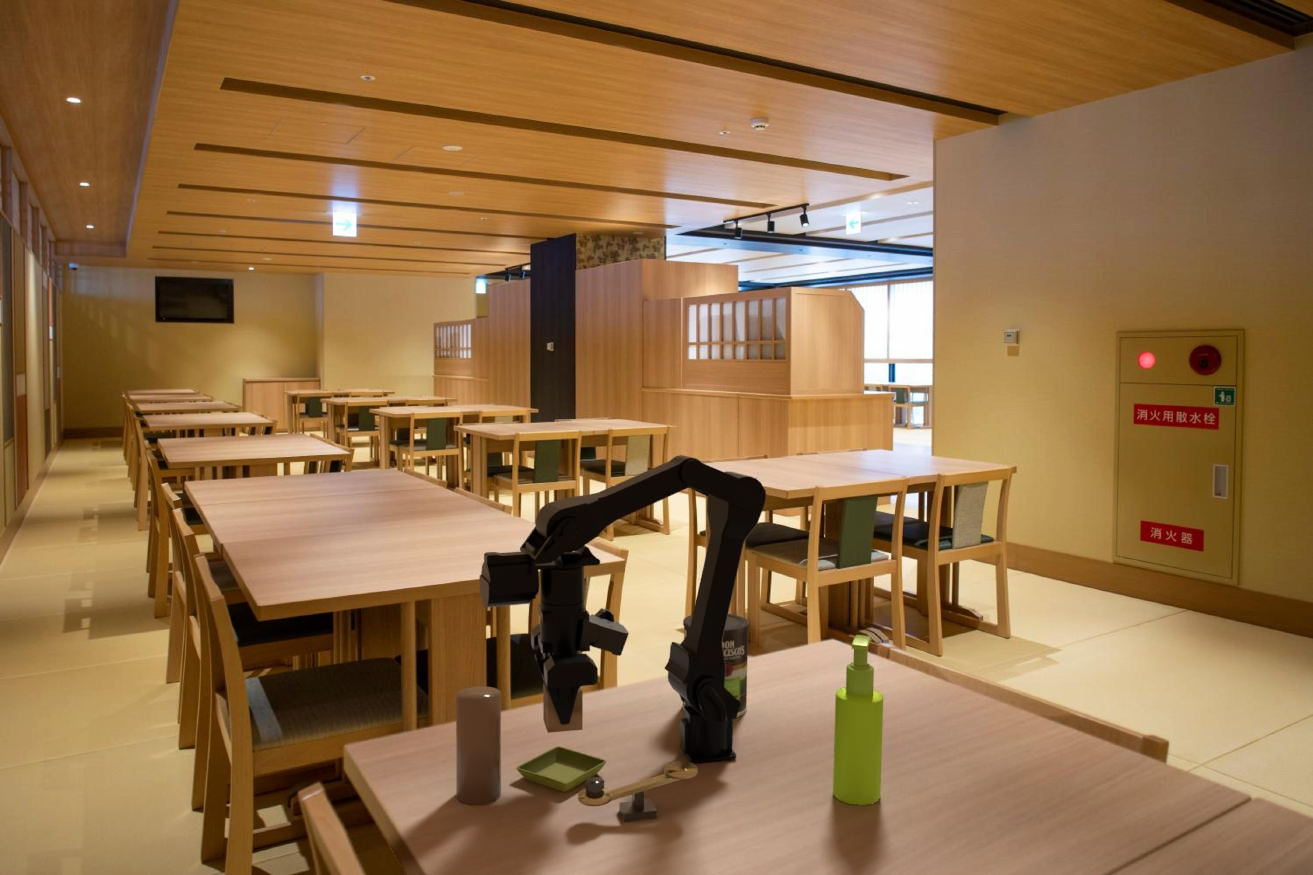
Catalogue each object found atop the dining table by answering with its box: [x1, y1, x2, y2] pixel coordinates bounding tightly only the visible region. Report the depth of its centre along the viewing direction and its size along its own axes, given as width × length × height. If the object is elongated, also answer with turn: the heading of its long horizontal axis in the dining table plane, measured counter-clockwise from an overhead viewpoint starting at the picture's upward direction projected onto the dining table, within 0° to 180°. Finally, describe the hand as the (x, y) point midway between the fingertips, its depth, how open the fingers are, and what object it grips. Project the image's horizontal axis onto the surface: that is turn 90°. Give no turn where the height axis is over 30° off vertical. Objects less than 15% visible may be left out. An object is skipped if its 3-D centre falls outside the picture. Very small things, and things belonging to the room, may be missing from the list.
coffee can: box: [681, 613, 750, 719], centre depth 149 cm, size 10×10×14 cm
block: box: [542, 682, 584, 734], centre depth 124 cm, size 4×4×5 cm
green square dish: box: [515, 745, 607, 793], centre depth 125 cm, size 9×9×2 cm
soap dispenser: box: [832, 634, 884, 806], centre depth 120 cm, size 6×7×20 cm
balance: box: [577, 760, 698, 823], centre depth 115 cm, size 15×4×5 cm, turn 104°
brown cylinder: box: [455, 685, 502, 806], centre depth 119 cm, size 6×6×13 cm
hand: (562, 716), depth 125 cm, fingers closed on block, 4 cm apart
